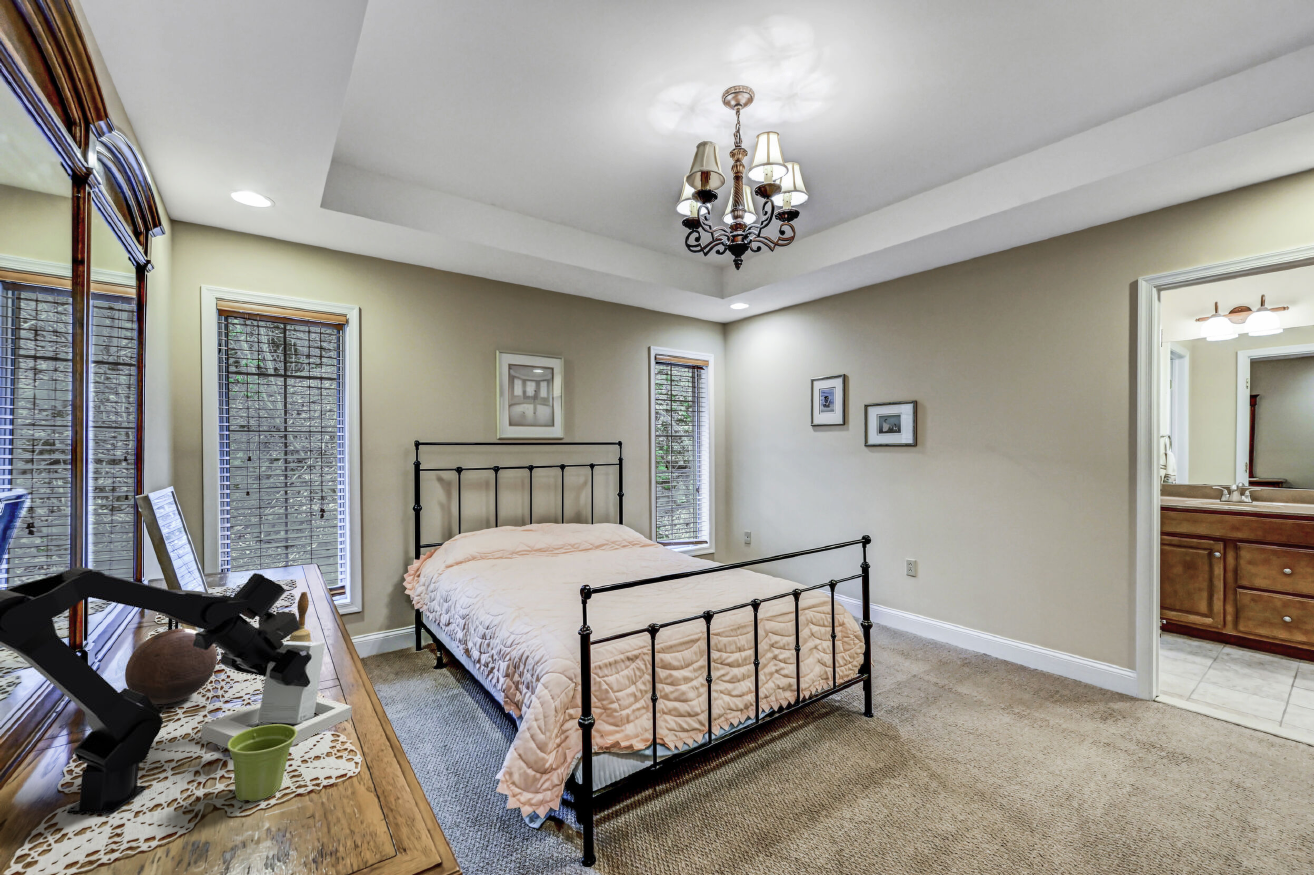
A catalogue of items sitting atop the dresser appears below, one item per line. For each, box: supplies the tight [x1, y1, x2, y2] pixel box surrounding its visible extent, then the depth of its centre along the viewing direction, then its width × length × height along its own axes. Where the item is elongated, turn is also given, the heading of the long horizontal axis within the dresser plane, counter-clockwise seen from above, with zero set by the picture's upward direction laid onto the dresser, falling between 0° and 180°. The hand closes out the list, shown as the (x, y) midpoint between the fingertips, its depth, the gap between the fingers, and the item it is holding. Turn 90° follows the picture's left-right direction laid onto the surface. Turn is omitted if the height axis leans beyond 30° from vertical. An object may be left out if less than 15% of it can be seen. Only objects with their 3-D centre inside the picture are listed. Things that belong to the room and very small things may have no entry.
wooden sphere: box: [124, 628, 218, 705], centre depth 122 cm, size 15×15×15 cm
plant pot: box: [227, 723, 297, 802], centre depth 93 cm, size 9×9×9 cm
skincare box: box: [257, 640, 326, 725], centre depth 116 cm, size 8×6×15 cm
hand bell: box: [288, 591, 313, 642], centre depth 154 cm, size 8×8×16 cm
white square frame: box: [200, 695, 353, 749], centre depth 113 cm, size 18×17×2 cm
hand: (292, 679), depth 115 cm, fingers closed on skincare box, 9 cm apart
